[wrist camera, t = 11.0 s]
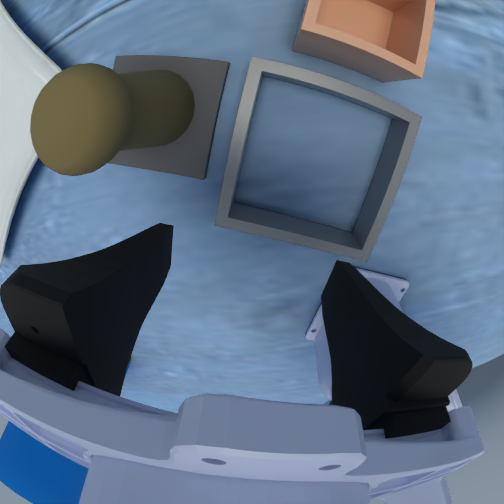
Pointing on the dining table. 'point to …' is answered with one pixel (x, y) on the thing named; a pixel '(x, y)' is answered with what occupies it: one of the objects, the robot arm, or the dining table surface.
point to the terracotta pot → (369, 35)
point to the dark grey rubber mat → (201, 127)
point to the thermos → (39, 469)
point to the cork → (106, 115)
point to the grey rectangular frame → (305, 231)
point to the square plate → (17, 113)
